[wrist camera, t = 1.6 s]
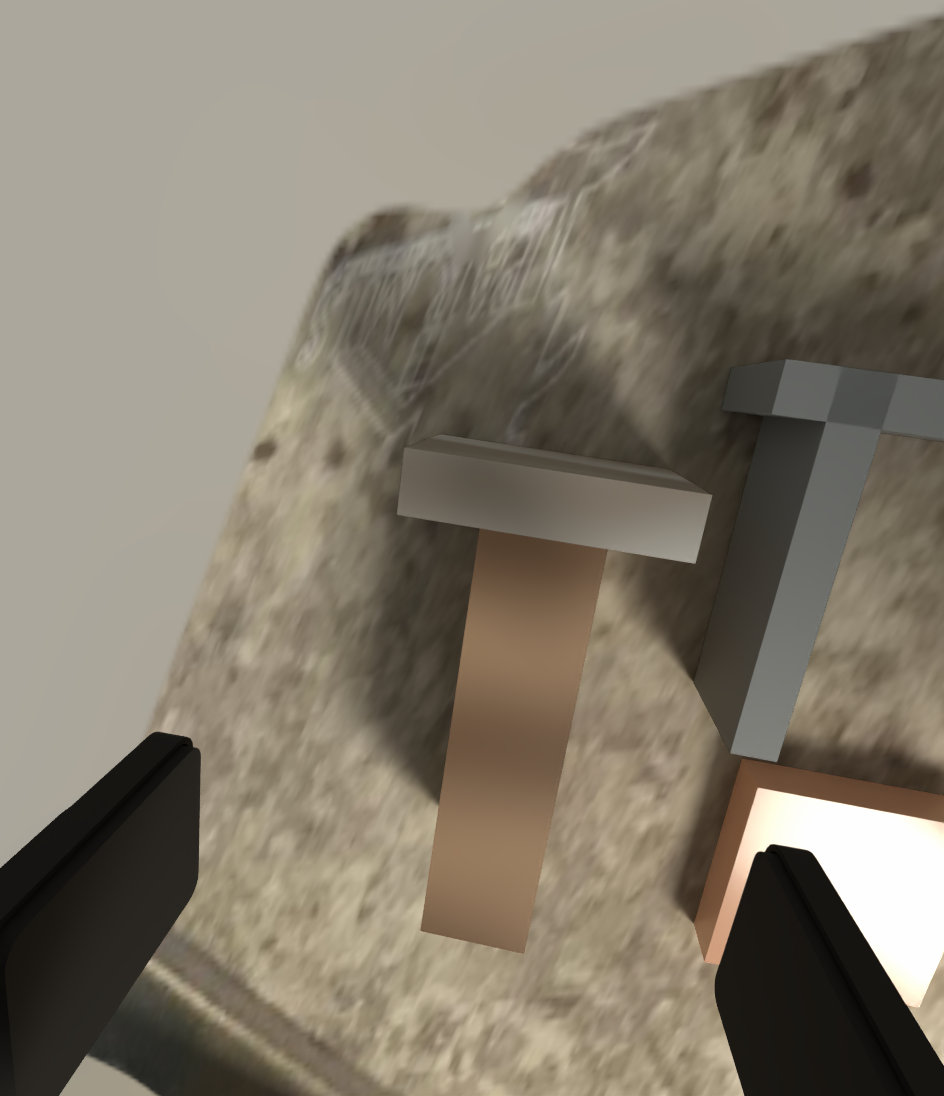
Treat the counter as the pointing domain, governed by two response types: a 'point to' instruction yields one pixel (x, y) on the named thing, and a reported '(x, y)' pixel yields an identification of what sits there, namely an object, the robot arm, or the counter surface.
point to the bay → (795, 530)
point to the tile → (840, 861)
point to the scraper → (525, 650)
